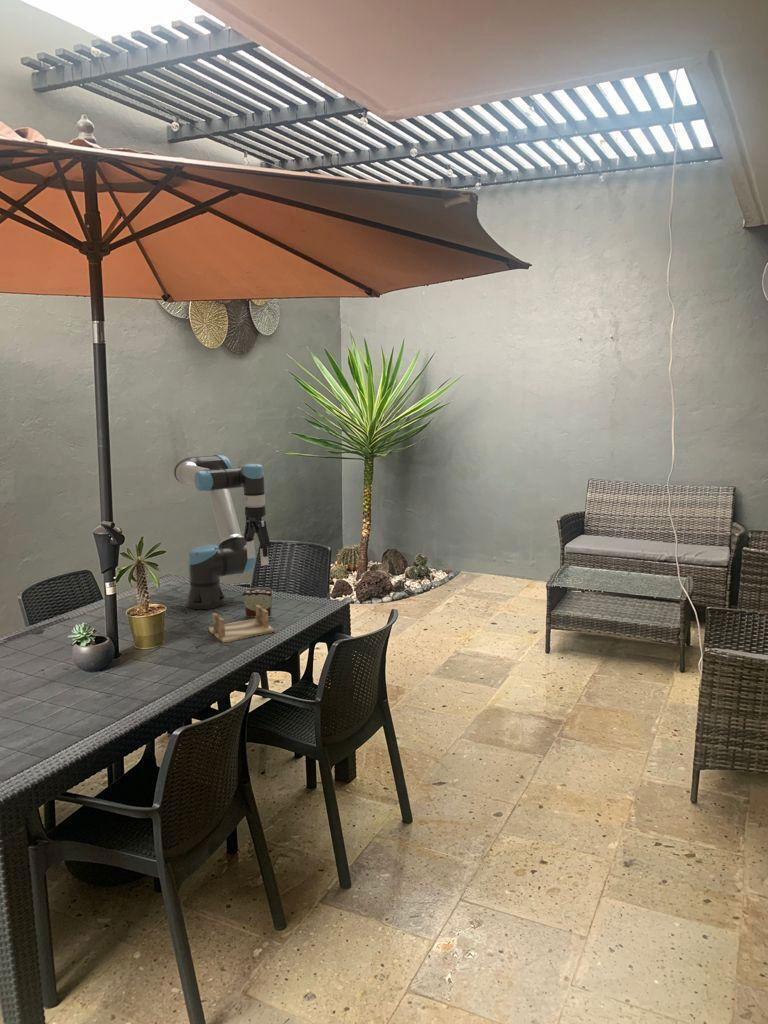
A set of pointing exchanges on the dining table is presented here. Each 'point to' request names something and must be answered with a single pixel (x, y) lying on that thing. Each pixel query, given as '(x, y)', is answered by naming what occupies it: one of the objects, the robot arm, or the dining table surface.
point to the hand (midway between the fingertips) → (257, 561)
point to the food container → (257, 600)
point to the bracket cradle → (241, 627)
